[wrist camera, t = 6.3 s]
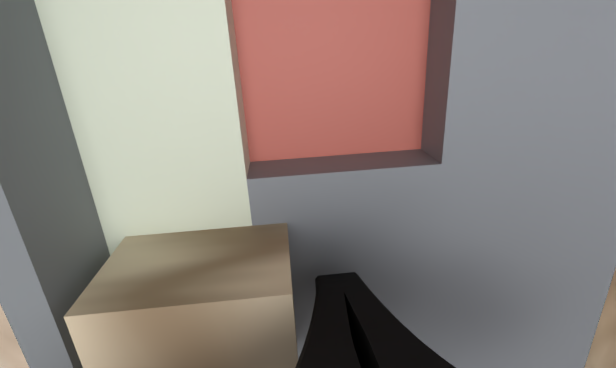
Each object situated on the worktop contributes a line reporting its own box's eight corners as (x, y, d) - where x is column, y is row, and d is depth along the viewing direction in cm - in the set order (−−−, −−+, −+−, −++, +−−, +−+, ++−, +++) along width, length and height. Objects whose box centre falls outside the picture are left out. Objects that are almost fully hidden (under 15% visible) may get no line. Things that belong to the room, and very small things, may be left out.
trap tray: (659, -96, 11) (947, -199, 6) (530, 412, 19) (612, 531, 14) (16, -74, 10) (-221, -180, 5) (172, 456, 18) (136, 601, 13)
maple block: (287, 222, 11) (292, 294, 8) (297, 343, 13) (304, 440, 10) (125, 236, 11) (63, 317, 8) (158, 357, 13) (119, 463, 10)
